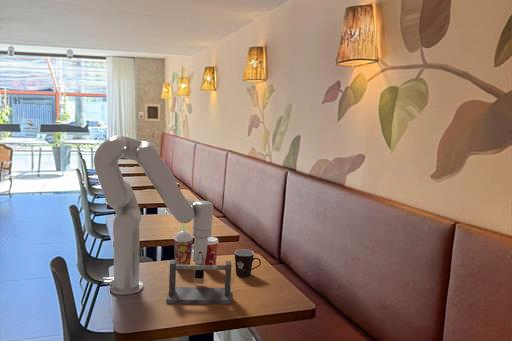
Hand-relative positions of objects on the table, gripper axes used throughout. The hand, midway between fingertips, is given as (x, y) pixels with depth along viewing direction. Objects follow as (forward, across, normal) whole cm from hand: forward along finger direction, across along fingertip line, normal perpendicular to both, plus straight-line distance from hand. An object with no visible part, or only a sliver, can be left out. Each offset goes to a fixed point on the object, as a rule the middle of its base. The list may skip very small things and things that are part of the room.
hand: (199, 274), depth 174 cm
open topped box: (+3, 0, 0) cm, 3 cm away
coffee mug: (+5, -12, +20) cm, 24 cm away
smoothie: (+5, -20, -8) cm, 22 cm away
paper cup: (+5, -19, +4) cm, 20 cm away
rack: (+5, +10, +1) cm, 11 cm away
